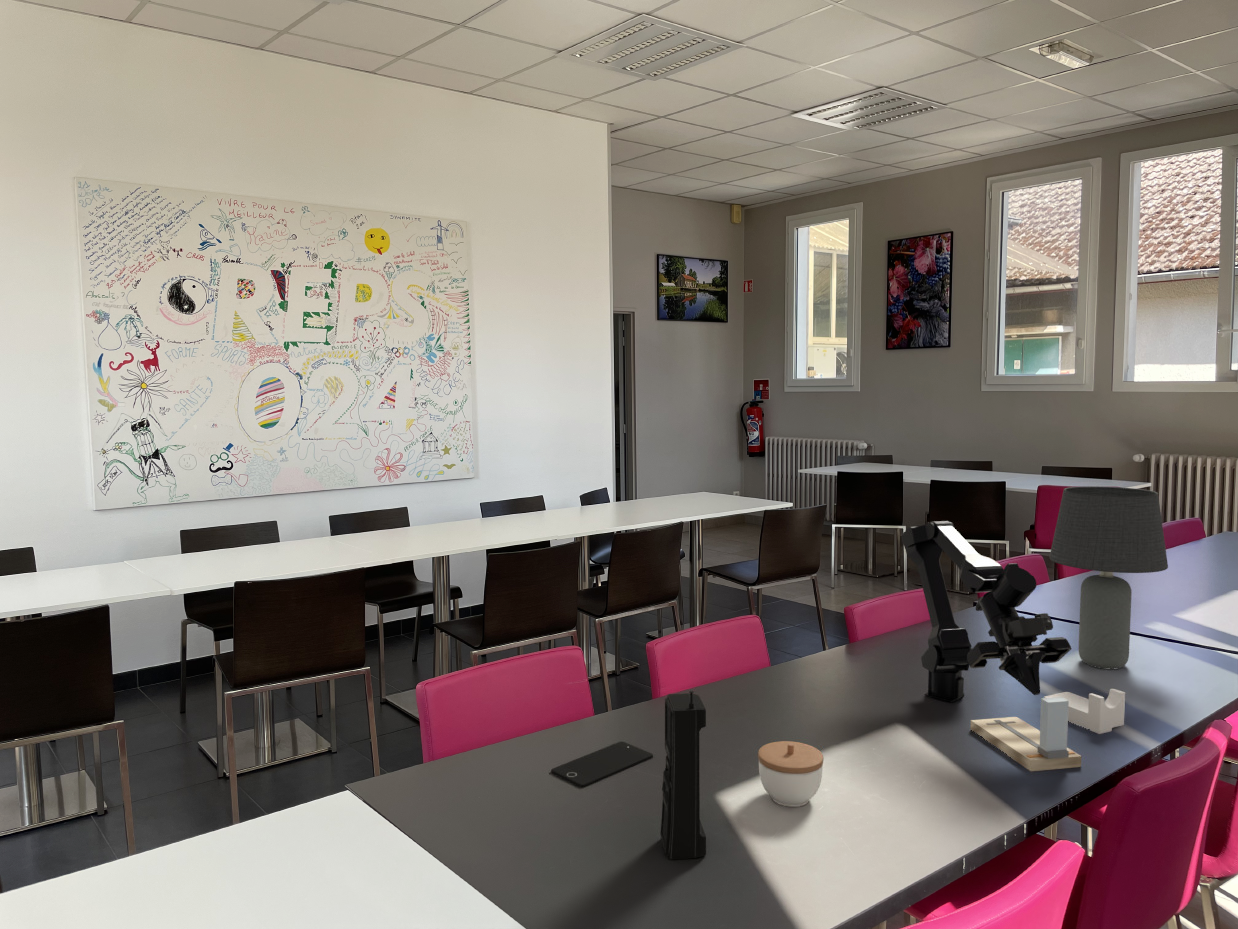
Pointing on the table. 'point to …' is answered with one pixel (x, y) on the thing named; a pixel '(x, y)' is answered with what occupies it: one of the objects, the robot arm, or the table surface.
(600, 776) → the cell phone
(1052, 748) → the fader tab
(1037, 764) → the slider board
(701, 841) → the portable radio
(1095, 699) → the bracket
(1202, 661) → the table surface
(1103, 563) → the lamp
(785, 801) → the lidded jar
